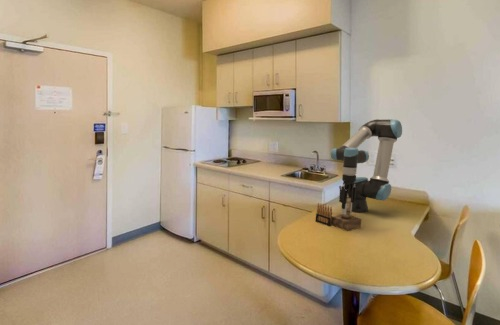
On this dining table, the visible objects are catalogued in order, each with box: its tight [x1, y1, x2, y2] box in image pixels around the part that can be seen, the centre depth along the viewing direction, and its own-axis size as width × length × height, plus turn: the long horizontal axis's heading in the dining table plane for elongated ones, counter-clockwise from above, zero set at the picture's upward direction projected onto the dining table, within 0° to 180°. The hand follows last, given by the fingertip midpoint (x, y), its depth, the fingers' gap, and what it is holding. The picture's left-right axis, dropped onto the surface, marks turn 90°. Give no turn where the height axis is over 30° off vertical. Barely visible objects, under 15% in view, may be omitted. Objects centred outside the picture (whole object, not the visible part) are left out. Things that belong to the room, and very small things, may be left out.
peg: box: [343, 196, 351, 219], centre depth 168 cm, size 4×4×12 cm
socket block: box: [332, 213, 362, 232], centre depth 169 cm, size 12×12×5 cm
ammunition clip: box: [315, 202, 333, 227], centre depth 171 cm, size 11×2×12 cm, turn 41°
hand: (346, 213), depth 168 cm, fingers closed on peg, 4 cm apart
